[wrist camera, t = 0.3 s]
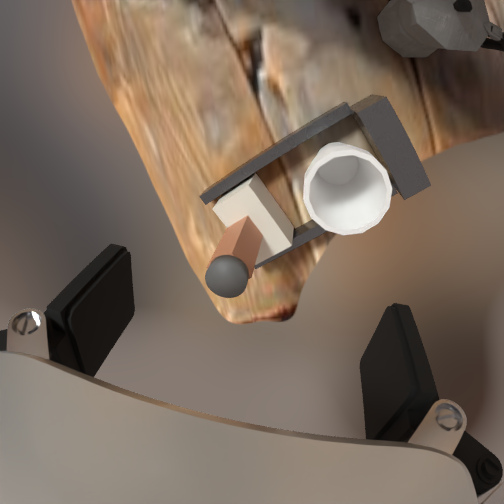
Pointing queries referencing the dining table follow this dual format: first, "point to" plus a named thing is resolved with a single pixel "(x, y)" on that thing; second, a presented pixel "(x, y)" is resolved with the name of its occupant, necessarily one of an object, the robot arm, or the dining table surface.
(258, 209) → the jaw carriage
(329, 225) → the foam cup
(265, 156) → the grey frame
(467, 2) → the coffeepot
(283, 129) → the dining table surface
